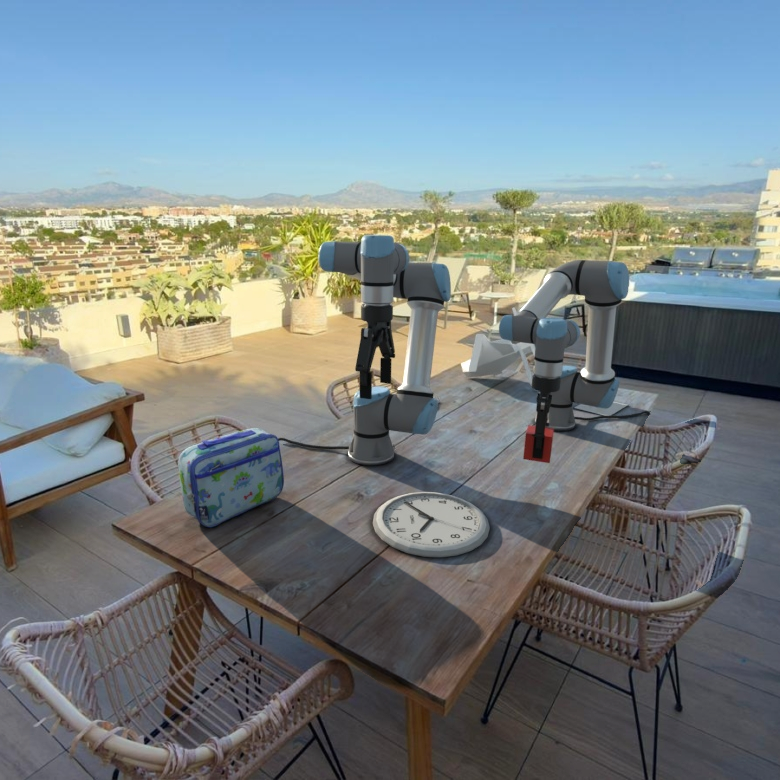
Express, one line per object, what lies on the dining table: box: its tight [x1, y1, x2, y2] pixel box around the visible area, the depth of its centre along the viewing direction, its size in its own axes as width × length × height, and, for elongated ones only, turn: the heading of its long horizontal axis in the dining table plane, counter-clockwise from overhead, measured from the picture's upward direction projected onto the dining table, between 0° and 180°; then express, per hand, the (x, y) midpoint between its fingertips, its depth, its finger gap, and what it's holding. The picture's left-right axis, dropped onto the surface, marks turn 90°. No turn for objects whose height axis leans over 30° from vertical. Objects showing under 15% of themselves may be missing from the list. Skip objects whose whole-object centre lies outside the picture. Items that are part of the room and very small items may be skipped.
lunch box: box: [177, 427, 285, 528], centre depth 137 cm, size 26×11×21 cm, turn 134°
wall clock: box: [372, 491, 490, 558], centre depth 135 cm, size 30×2×30 cm
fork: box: [434, 395, 442, 404], centre depth 223 cm, size 3×16×2 cm, turn 160°
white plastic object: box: [460, 307, 537, 391], centre depth 258 cm, size 37×45×31 cm
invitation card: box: [573, 400, 629, 416], centre depth 226 cm, size 21×1×15 cm
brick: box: [522, 424, 555, 464], centre depth 149 cm, size 7×7×8 cm
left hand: (376, 390), depth 129 cm, fingers open, 13 cm apart
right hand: (538, 452), depth 149 cm, fingers closed on brick, 7 cm apart
